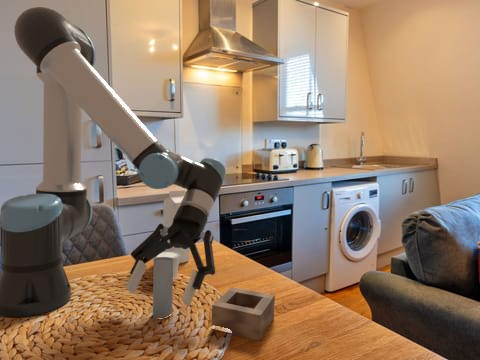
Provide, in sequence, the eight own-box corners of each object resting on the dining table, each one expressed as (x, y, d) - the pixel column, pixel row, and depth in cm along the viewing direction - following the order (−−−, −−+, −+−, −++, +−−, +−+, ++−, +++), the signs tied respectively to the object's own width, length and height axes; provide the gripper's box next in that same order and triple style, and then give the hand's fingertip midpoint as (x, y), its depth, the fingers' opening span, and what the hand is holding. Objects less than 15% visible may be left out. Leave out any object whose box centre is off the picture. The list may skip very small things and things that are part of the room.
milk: (162, 260, 111) (163, 190, 109) (178, 256, 116) (179, 188, 114) (174, 265, 107) (175, 192, 105) (190, 261, 112) (191, 191, 110)
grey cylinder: (148, 317, 75) (149, 261, 74) (159, 309, 79) (160, 256, 78) (165, 321, 74) (166, 264, 72) (175, 312, 77) (176, 258, 76)
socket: (211, 329, 71) (212, 305, 70) (230, 308, 80) (231, 287, 80) (259, 340, 67) (260, 315, 67) (273, 317, 77) (274, 295, 76)
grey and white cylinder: (173, 286, 91) (173, 259, 91) (148, 283, 93) (148, 257, 92) (182, 277, 98) (183, 252, 97) (159, 274, 99) (159, 249, 99)
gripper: (245, 227, 84) (216, 315, 72) (155, 216, 93) (116, 293, 81) (238, 208, 79) (205, 300, 66) (143, 198, 88) (99, 278, 75)
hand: (156, 296), depth 73 cm, fingers open, 13 cm apart
